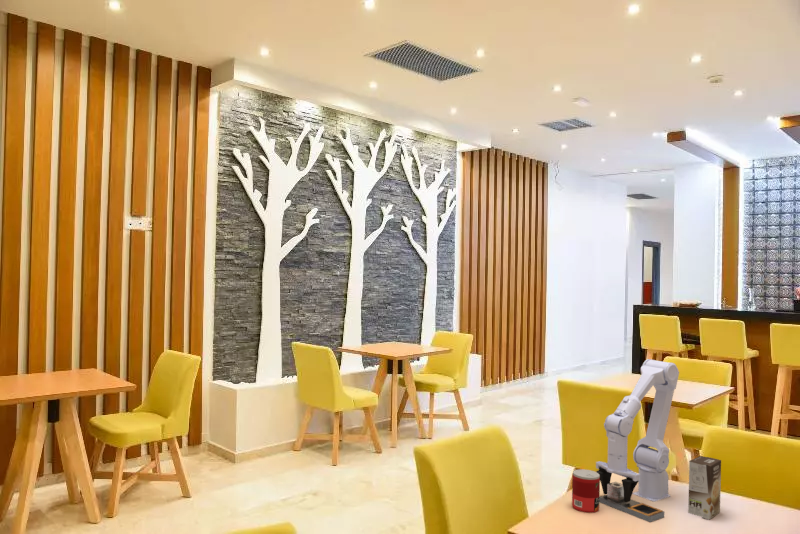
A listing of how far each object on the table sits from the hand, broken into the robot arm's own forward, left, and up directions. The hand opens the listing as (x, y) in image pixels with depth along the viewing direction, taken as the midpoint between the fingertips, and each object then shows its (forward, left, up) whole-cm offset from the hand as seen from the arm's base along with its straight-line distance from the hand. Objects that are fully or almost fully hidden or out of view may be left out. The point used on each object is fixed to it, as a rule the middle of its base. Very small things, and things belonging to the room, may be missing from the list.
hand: (616, 497), depth 191 cm
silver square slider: (0, 0, -2) cm, 2 cm away
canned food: (+11, -3, -3) cm, 12 cm away
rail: (0, +5, -2) cm, 6 cm away
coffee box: (-18, +18, -3) cm, 26 cm away
